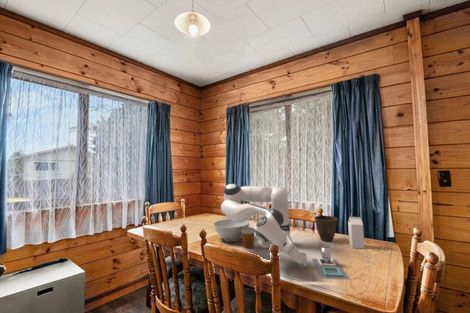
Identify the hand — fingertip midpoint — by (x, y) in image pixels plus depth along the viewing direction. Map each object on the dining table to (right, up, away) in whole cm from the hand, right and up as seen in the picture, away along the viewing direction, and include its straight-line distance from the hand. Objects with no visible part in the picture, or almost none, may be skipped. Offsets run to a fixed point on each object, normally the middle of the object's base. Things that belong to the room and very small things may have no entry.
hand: (302, 260), depth 119 cm
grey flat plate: (+13, -4, -2) cm, 14 cm away
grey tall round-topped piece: (+14, -3, +3) cm, 14 cm away
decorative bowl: (-37, -9, +54) cm, 66 cm away
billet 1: (0, -5, 0) cm, 5 cm away
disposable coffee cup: (-26, -7, +36) cm, 45 cm away
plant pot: (+30, -6, +45) cm, 54 cm away
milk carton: (+44, -5, +31) cm, 55 cm away
